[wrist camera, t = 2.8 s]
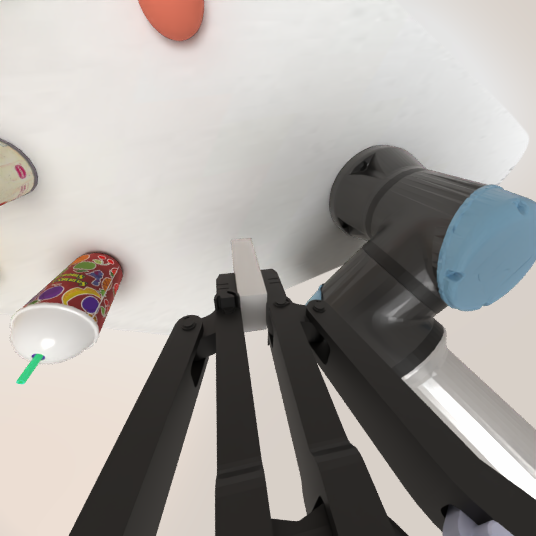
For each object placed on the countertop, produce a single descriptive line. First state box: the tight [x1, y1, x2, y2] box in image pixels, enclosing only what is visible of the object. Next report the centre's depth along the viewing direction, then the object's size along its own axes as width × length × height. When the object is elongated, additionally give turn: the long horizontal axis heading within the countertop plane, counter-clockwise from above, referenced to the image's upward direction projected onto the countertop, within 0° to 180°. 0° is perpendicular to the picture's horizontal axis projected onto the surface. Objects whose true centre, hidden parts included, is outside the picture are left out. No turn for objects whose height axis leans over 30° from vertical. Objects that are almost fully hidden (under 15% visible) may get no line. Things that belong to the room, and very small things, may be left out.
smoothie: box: [10, 253, 123, 384], centre depth 30 cm, size 8×8×20 cm
